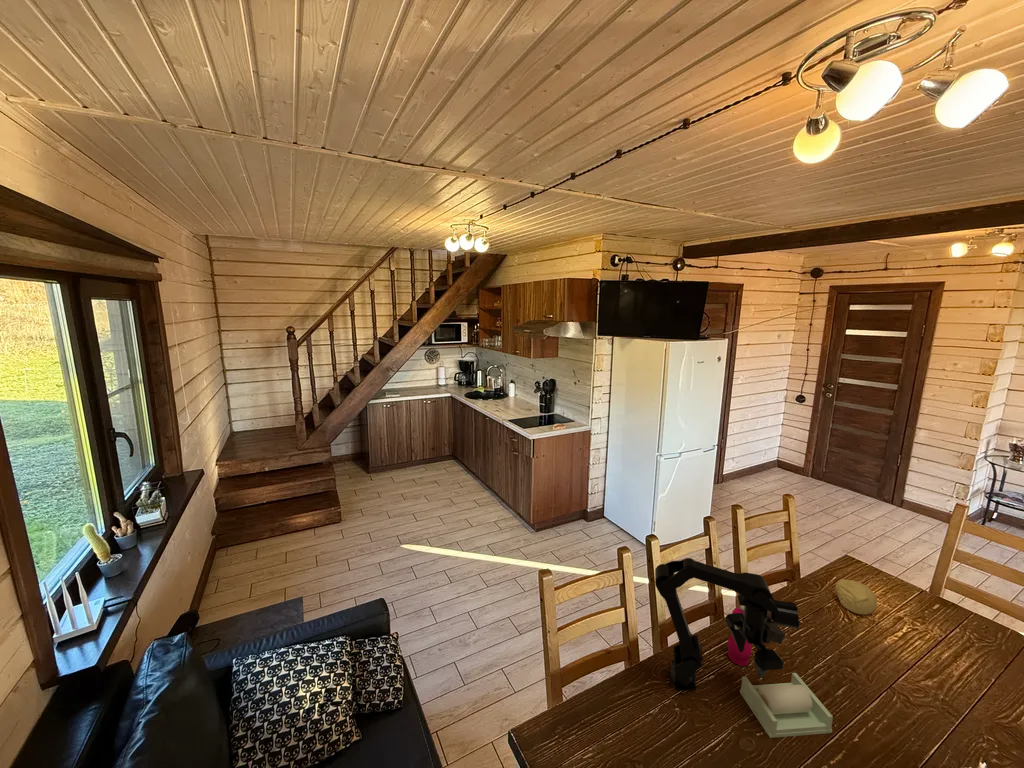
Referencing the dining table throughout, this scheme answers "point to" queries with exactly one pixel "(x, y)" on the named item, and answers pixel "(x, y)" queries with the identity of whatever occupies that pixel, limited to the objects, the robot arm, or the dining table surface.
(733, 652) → the pepper mill
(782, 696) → the kitchen roll
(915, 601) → the dining table surface
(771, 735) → the roll cradle
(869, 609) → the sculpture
